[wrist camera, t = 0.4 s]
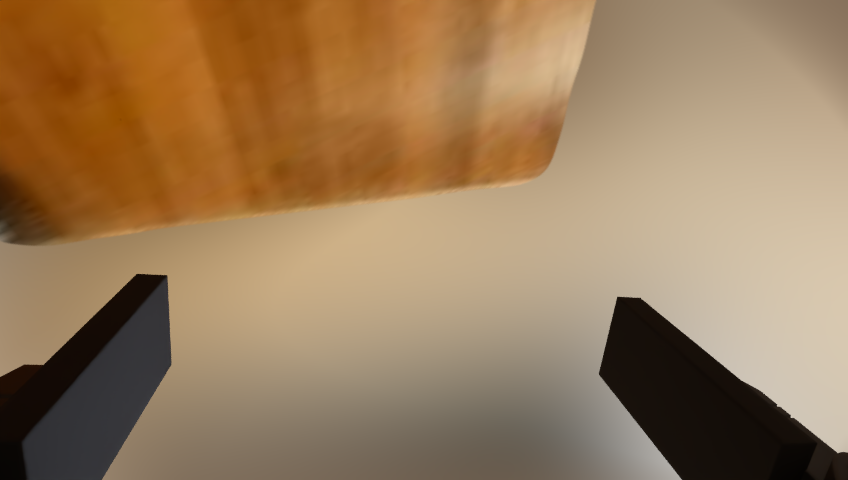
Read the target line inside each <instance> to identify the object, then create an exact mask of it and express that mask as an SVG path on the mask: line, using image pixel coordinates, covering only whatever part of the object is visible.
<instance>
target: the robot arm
mask: <svg viewBox="0 0 848 480" xmlns="http://www.w3.org/2000/svg"><path fill="white" fill-rule="evenodd" d="M170 366H171V344H170V323H169V302H168V282H167V275H148V274H147V275H146V274H136V276H134V277H133V278H132V279H131V280H130V281H129V282H128V283H127V284H126V285H125V286H124V287H123V288H122V289H121V290H120V291H119V292H118V293H117V294H116V295H115V296H114V297H113V298H112V299H111V300H110V301H109V302H108V303H107V304H106V305H105V306H104V307H103V308H102V309H101V310H99V311H98V312H97V313H96V314H95V315H94V316H93V317H92V318H91V319H90V320H89V321H88V322H87V323H86V324H85V325H84V326H83V327H82V328H81V329H80V330H79V331H78V332H77V333H76V334H75V335H74V336H73V337H72V338H71V339H70V340H69V341H68V342H67V343H66V344H65V345H64V346H62V348H60V350H58V352H56V353H55V354H54V355H53V356H52V357H51V358H50V359H49V360H48V361H47V362H46V363H45V364H44V365H23V366H21V367H19V368H17V369H15V370H13V371H11V372H9V373H7V374H5V375H3V376H1V377H0V480H102V478H103V477H104V475H105V473H106V472H107V470H108V468H109V467H110V465H111V463H112V462H113V460H114V458H115V457H116V455H117V454H118V452H119V450H120V449H121V447H122V445H123V443H124V442H125V440H126V439H127V437H128V435H129V434H130V432H131V430H132V428H133V427H134V425H135V424H136V422H137V420H138V419H139V417H140V415H141V414H142V412H143V410H144V409H145V407H146V406H147V404H148V402H149V400H150V399H151V397H152V396H153V394H154V392H155V391H156V389H157V387H158V386H159V384H160V382H161V381H162V379H163V377H164V376H165V374H166V372H167V371H168V369H169V367H170ZM599 375H600V376H601V377H602V379H603V380H604V381H605V383H606V384H607V385H608V386H609V388H610V389H611V390H612V392H613V393H614V394H615V395H616V396H617V398H618V399H619V400H620V402H621V403H622V404H623V405H624V407H625V408H626V409H627V411H628V412H629V413H630V414H631V416H632V417H633V418H634V419H635V420H636V422H637V423H638V424H639V426H640V427H641V428H642V429H643V431H644V432H645V433H646V435H647V436H648V437H649V438H650V440H651V441H652V442H653V443H654V445H655V446H656V447H657V448H658V450H659V451H660V452H661V454H662V455H663V456H664V457H665V459H666V460H667V461H668V462H669V464H670V465H671V466H672V467H673V469H674V470H675V471H676V473H677V474H678V475H679V476H680V478H681V479H682V480H848V453H846V452H841V453H837V452H836V451H834V450H833V449H832V448H831V447H829V446H828V445H827V444H826V443H824V442H823V441H822V440H821V439H819V438H818V437H817V436H815V435H814V434H813V433H812V432H811V431H809V430H808V429H807V428H806V427H804V426H803V425H802V424H801V423H799V422H798V421H797V420H796V419H794V418H791V417H790V416H791V415H789V414H788V413H787V412H786V411H785V410H783V409H782V408H781V407H777V404H776V403H775V402H773V401H772V400H771V399H769V398H768V397H767V396H766V395H765V394H763V393H762V392H761V391H759V390H758V389H756V388H754V387H752V386H750V385H749V384H747V383H745V382H743V381H741V380H740V379H738V378H737V377H736V376H735V375H734V374H733V373H731V372H730V371H729V370H727V369H726V368H725V367H724V366H723V365H722V364H720V363H719V362H718V361H717V360H715V359H714V358H713V357H712V356H710V355H709V354H708V353H707V352H706V351H704V350H703V349H702V348H701V347H699V346H698V345H697V344H696V343H695V342H693V341H692V340H691V339H690V338H689V337H687V336H686V335H685V334H684V333H682V332H681V331H680V330H679V329H677V328H676V327H675V326H674V325H673V324H671V323H670V322H669V321H668V320H666V319H665V318H664V317H663V316H662V315H660V314H659V313H658V312H657V311H655V310H654V309H653V308H652V307H650V306H649V305H648V304H647V303H646V302H644V301H643V300H642V299H641V298H629V297H617V301H616V305H615V309H614V313H613V317H612V322H611V325H610V330H609V334H608V338H607V342H606V347H605V351H604V355H603V359H602V363H601V367H600V371H599Z"/></svg>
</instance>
